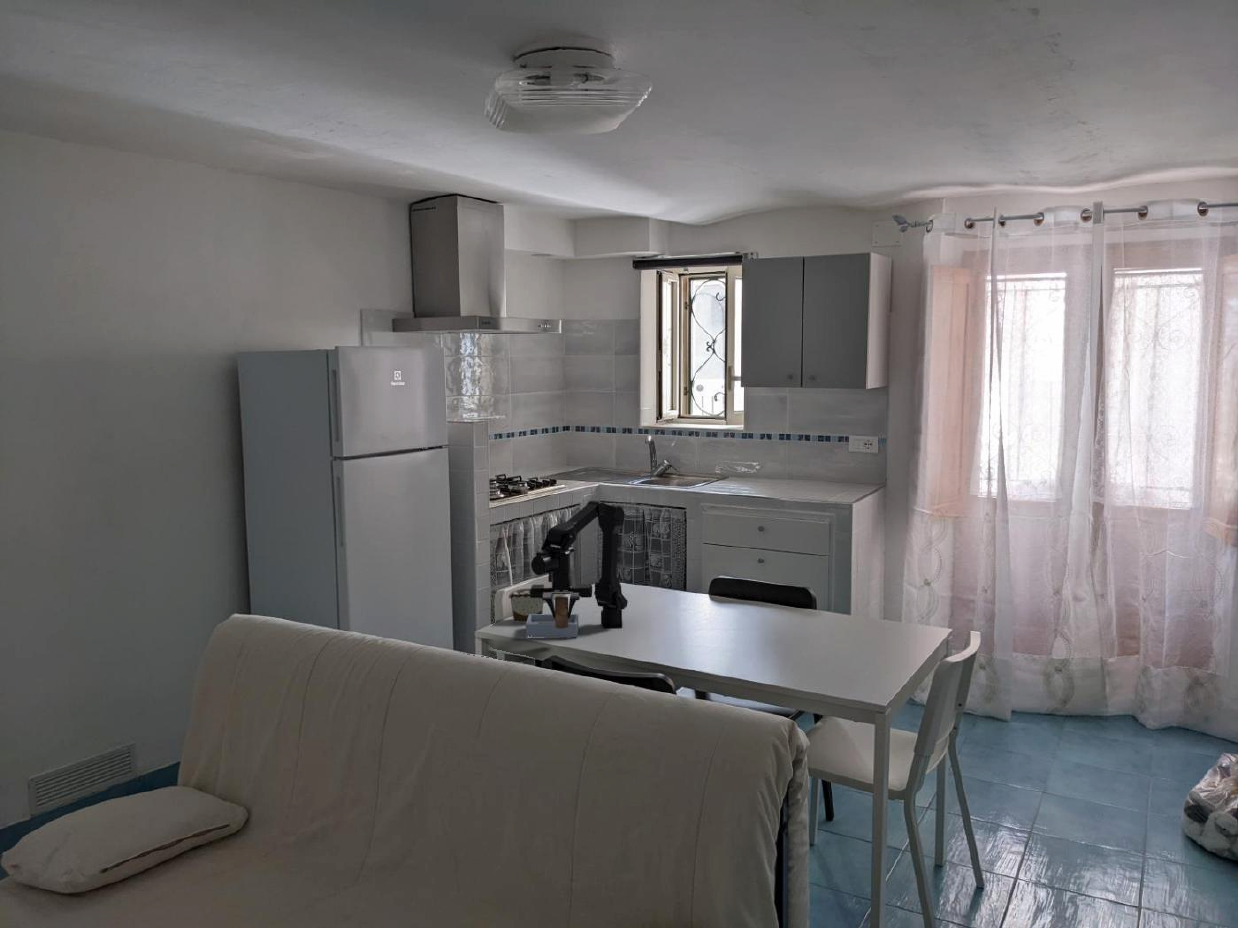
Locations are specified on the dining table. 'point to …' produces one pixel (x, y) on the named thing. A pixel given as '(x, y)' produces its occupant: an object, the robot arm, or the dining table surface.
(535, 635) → the box
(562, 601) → the peg
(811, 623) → the dining table surface
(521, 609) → the food container
